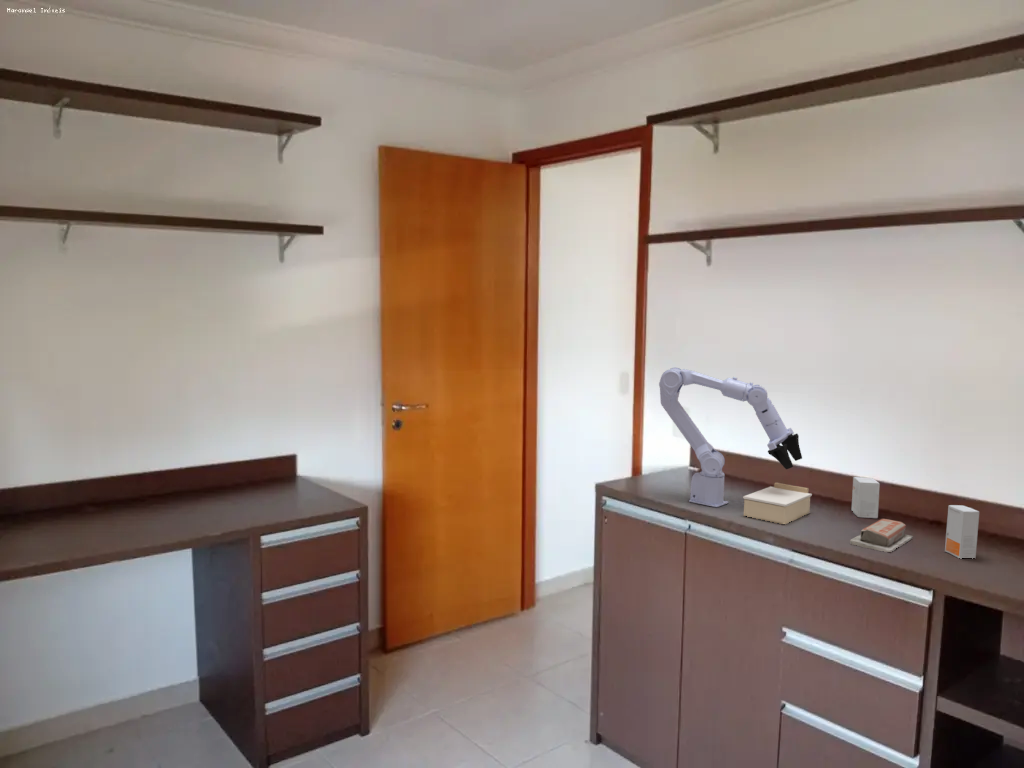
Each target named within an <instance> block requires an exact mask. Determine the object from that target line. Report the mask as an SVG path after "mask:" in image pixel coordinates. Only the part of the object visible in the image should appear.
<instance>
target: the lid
mask: <svg viewBox="0 0 1024 768" xmlns="http://www.w3.org/2000/svg"><path fill="white" fill-rule="evenodd" d="M809 491H810V490H809V487H803V486H798V485H792V484H785V483H782V482H781V483H780V482H774V484H773V486H768V487H765V488H763V489H760V490H757V491H755V492H754V491H753V492H752V493H749V494H746V495H743V497H742V499H744V500H745V499H748V500H753V501H759V502H764V503H769V504H774V505H779V506H784V507H787V506H789V505H791V504H794V503H796V502H798V501H801V500H803V499H805V498H808V497H810V498H811V497H812V495H813V494H812V493H809Z"/></svg>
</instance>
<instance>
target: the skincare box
mask: <svg viewBox="0 0 1024 768" xmlns="http://www.w3.org/2000/svg"><path fill="white" fill-rule="evenodd" d="M947 507H948V508H947V519H946V533H945V544H944V545H945V546H944V552H946V553H947V554H950V555H952V556H954V557H955V558H957V559H959V558H960V560H963V559H962V558H972V559H971V560H974V559H973V558H975V559H976V557H977V546H978V545H977V544H978V534H979V533H978V531H979V523H980V522H979V520H980V511H979V510H977V509H974V508H973V507H968V506H966V505H962V504H961V505H960V504H959V505H958V504H950V505H948V506H947Z"/></svg>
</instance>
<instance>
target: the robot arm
mask: <svg viewBox="0 0 1024 768" xmlns="http://www.w3.org/2000/svg"><path fill="white" fill-rule="evenodd" d="M693 384H694V385H698V386H702V387H707V388H709V389H714V390H718V391H720V393H721V394H722V396H724V397H727V398H730V399H733V400H737V401H740V402H747V403H748V404H749V405H750V406H752V408H753V410H754V412H755V415H756V417H757V418H758V421H759V422H760V424H761V426H762V428H763V429H764V431H765V433H766V435H767V437H768V439H769V442H768V443H767V447H768V450H767V453H768V454H769V455H770V456H771V457H773V458H774V459H776V460H777V461H778V462H779V463H780V465H781V466H783V468H784V469H785V470H789V469H791V468H793V467H794V466H793V462H792V459H794V461H796V462H797V461H799V460H802V459H803V455H802V451H801V448H800V442H799V441H800V439H799V434H798V433H795V432H794V431H793V428H792V427H789V428H787V427H786V425H785V423H784V422H783V420H782V418H781V416H780V414H779V413H778V410H777V408H776V407H775V405H774V403H772V400H771V399H770V397H768V391H767V389H765V387H763V386H762V385H760V384H754V382H751V381H749V382H746V381H742V380H739V379H738V377H736V376H733V377H727V378H725V379H723V380H722V379H719V378H717V377H714V376H710V375H709V374H705V373H702V372H698V371H695V370H691V369H685V368H682V369H681V368H680V367H671V368H670V369H666V370H665V371H664V372H662V374H661V376H660V380H659V382H658V386H659V397H660V405H661V407H662V408H663V409H664V411H665V412H666V414H667V415H668V416H669V418H670V419H671V421H672V422H673V423H674V424H675V426H676V427H677V429H678V430H679V431H680V433H681V434H682V435H683V437H684V439H685V440H686V441H687V443H688V444H689V445H690V447H691V448H692V449H693V451H694V453H695V456H696V458H697V460H698V461H699V463H700V469H701V471H700V472H695V473H694V474H693V475H692V477H691V482H690V499H689V500H688V503H694V504H699V505H704V506H708V507H709V506H710V507H713V508H719V507H722V506H725V505H726V504H729V502H730V501H728V500H724V494H725V493H724V492H725V491H724V490H725V477H726V476H725V472H724V471H723V468H724V466H725V464H726V463H725V462H726V461H725V457H724V455H723V453H721V452H719V451H718V450H716V449H715V448H714V446H713V445H712V444H711V443H710V442H708V440H707V439H706V438H705V436H704V435H703V434H702V432H701V430H700V429H699V427H697V425H696V424H695V422H694V421H693V420H692V418H691V417H690V415H689V414H688V413H687V411H686V410H685V409H684V407H683V405H682V403H680V402H679V397H680V393H681V392H680V391H681V388H682V387H683V386H684V387H685V386H690V385H693ZM790 455H791V457H792V459H791V458H790Z"/></svg>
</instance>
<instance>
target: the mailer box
mask: <svg viewBox="0 0 1024 768" xmlns="http://www.w3.org/2000/svg"><path fill="white" fill-rule="evenodd" d="M810 506H811V496H810V497H808V498H805V499H803V500H801V501H798V502H796V503H794V504H791V505H789V506H787V507H784V506H779V505H774V504H769V503H764V502H759V501H753V500H748V499H744V500H743V517H744V516H747V517H746V518H748V517H752V518H751V519H753V518H756V519H755V520H758V519H761V520H760V521H762V520H765V521H764V522H767V521H770V522H769V523H772V522H774V523H773V524H777V523H779V524H778V525H781V524H785V525H787V524H790V523H791V521H792V522H794V521H796V520H798V519H800V518H803V517H804V515H805V516H806V515H809V514H810V510H811V509H810V508H811V507H810ZM802 516H803V517H802ZM789 522H790V523H789Z"/></svg>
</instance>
